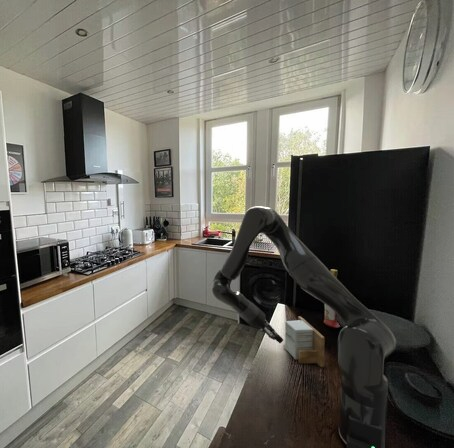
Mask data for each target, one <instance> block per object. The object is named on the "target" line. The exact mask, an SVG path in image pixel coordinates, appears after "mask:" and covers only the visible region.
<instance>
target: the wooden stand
mask: <svg viewBox="0 0 454 448" xmlns="http://www.w3.org/2000/svg"><path fill="white" fill-rule="evenodd" d="M297 320H302V321H303V322H305V323H306V324H307V325H308V326H310V327H311V328H312V329H313V350H299V358H298V359H297V360H298V363H299V364H317V365H318V366H319V367H320V368H325V345H326V344H325V343H326V340H325V339H326V338H325V336H324V335H323V334H321V333H320V332H319V331H318V330H317V329H316V328H314V326H312V325H311V324H310V323H309V322H308V321H307V320H306V319H305V318H303V317H302V316H298V317H297Z"/></svg>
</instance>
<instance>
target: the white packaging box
mask: <svg viewBox="0 0 454 448" xmlns="http://www.w3.org/2000/svg"><path fill="white" fill-rule="evenodd" d="M284 334H285V335H284V337H285V338H284V339H285V340H284V341H285V342H284V348H285V350H286V351H287V352H288V353H289V354H290V355H291V357H293V359H294V360H296V361H297V360H298V358H299V350H313V329H312V328H311V327H310V326H308V325H307V324H306V323H305V322H303V321H302V320H298V319H297V320H286V321H285V333H284Z"/></svg>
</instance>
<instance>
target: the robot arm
mask: <svg viewBox="0 0 454 448" xmlns="http://www.w3.org/2000/svg"><path fill="white" fill-rule="evenodd" d="M259 234H263V235H265V237H267V238H268V239H269V240H270V242H271V243H272V244H273V245H274V246H275V247H276V250H277V251H278V253H279V256H280V260H281V262H282V264H283V267H284V269H285V270H286V271H287V273H288V274H289V276H290V277H291V278H292V279H293V280H294V282H295V283H296V284H297V285H298V286H299V288H301V289H302V290H303V291H305V292H306V293H307V294H309V295H310V296H312V297H314V298H315V299H317V300H318V301H320V302H322V303H323V304H324V305H325V304H326V305H328V306H329V307H330V308H331V309H332V310H333V311H334V312H335V313H336V314H337V315H338V316H339V317H340V320H341V321H342V322H343V324H345V326H344V327H342V328H341V329H340V331H339V333H338V336H337V363H338V367H339V370H340V392H339V393H340V395H339V396H340V397H339V415H338V416H339V421H338V422H339V424H338V437H339V439H340V441H341V442H342V443H343V444H344V445H345V446H346V448H386V433H387V419H388V405H389V391H390V390H389V389H390V388H389V387H390V384H389V383H390V382H389V379H388V378H387V376H386V375H385V374H384V372H385V371H384V370H385V369H384V367H385V360H386V359H387V358H388V357H389V356H391V355H392V354H393V353H394V352H395V350H396V349H397V340H396V337H395V335H394V334H393V332H392V330H391V329H390V327H388V326H387V325H386V324H385V323H384V322H383V321H382V320H381V319H380V318H379V317H377V316H376V315H375V314H374V313H373V312H372V311H371V310H370V309H368V308H367V307H366V306H365V305H364V304H363V303H361V301H360V300H358V299H357V298H356V297H355V296H354V295H353V294H352V293H351V292H350V291H349V289H347V288H346V286H345V285H343V283H342V282H341V281H340V280H339V279H338V278H336V277H335V276H334V275H333V274H332V273H331V270H329V268H328V267H327V266H326V265H325V264H324V263H323V262H322V261H321V260H320V258H318V257H317V255H316V254H314V252H313V251H311V250H310V248H308V246H307V245H306V244H304V242H303V241H301V240H300V238H299V237H297V236H296V235H295V234H294V232H293V231H292V230H291V229H290V227H289V225H288V224H287V223H286V222H285V221H284V220H283V218H282V216H280V214H279V213H278V212H277V211H276V210H275V209H273V208H272V207H267V206H252V207H250V208H249V209H248V210H247V211H246V212H245V213H244V215H243V218H242V221H241V222H240V226H239V230H238V232H237V235H236V238H235V239H234V243H233V245H232V247H231V249H230V252H229V254H228V255H227V257H226V259H225V261H224V262H223V264H222V266H221V267H220V269H219V270H218V271H217V272H216V273H215V275H214V277H213V279H212V284H211V292H212V295H213V296H214V298H215V299H216V300H217V301H219V302H220V303H223V304H224V305H226V306H228V307H230V308H231V309H232V310H233V311H234V312H235V313H237V314H238V316H239V317H240V318H241V319H242V320H243V321H245V322H246V323H247V325H249V326H250V327H251V328H253V329H259V330H260V331H262V332H263V333H264V334H265V335H267V336H268V338H269V339H271V340H273V341H276V342H277V343H279V344H281V343H283V341H284V338H283V337H282V336H281V335H280V334H278V332H277V331H276V330H275V329H274V327H273V326H272V325H271V324H270V323H269V322H268V320H267V316H266V313H265V312H264V311H262V310H261V309H260V308H259V307H258V306H257V305H256V304H255V303H253V302H252V301H251V300H249V299H248V298H247V297H246V296H245V295H244V294H243V293H242V292H240V291H238V290H237V291H236V290H235V291H233V290H232V289H231V284H232V282H233V281H235V280H237V279H238V278H239V277H240V275H241V273H242V272H243V270H244V269H245V266H246V265H247V263H248V259H249V252H250V249H251V246H252V244H253V242H254V241H255V239H256V238H257V237H258V236H259Z"/></svg>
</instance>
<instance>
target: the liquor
mask: <svg viewBox="0 0 454 448" xmlns="http://www.w3.org/2000/svg"><path fill="white" fill-rule="evenodd" d="M330 272H331V273H332V274H333V275H334V276H335V277H336V278H337V277H338V270H337V269H334V268H333V269H330ZM337 279H338V278H337ZM337 316H338V315H337V314H336V313H335V312H334V311H333V310H332V309H331V308H330V307H329V306H328V305H326V304H325V303H324V320H323V323H324V324H325V325H326V327H328V328H331V329H338V328H340V327H341V326H340V325H339V323H338V322H337V319H336V317H337Z"/></svg>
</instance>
